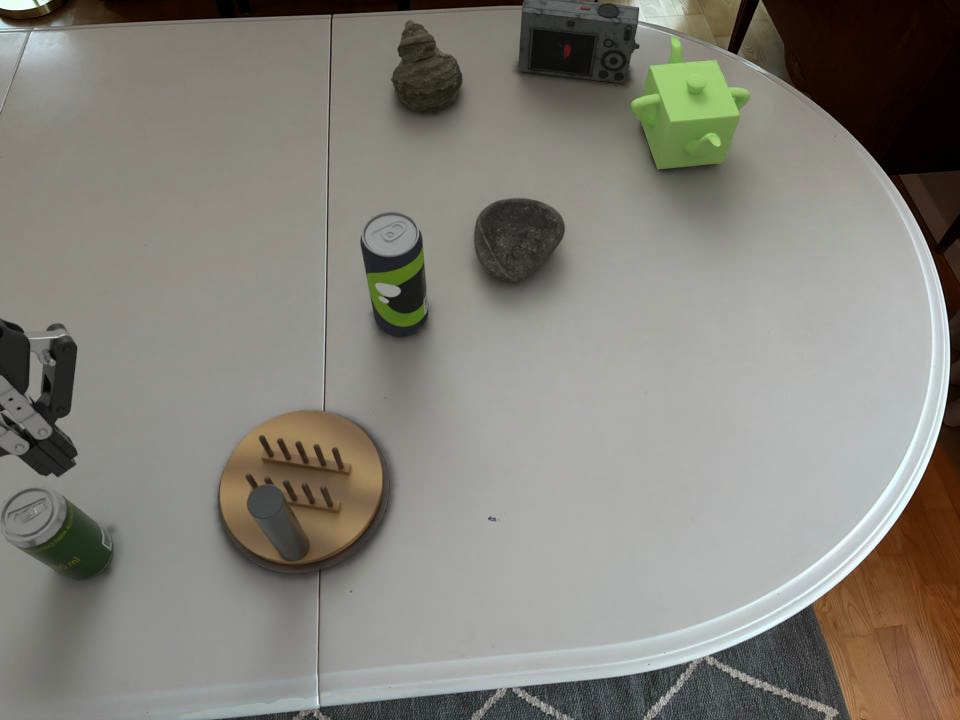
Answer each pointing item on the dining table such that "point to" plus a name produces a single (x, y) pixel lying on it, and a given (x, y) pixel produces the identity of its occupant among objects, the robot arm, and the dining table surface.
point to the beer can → (55, 532)
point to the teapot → (688, 111)
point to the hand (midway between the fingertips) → (64, 463)
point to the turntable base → (333, 559)
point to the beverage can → (395, 272)
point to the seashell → (424, 71)
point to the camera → (577, 39)
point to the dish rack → (301, 487)
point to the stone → (516, 237)
